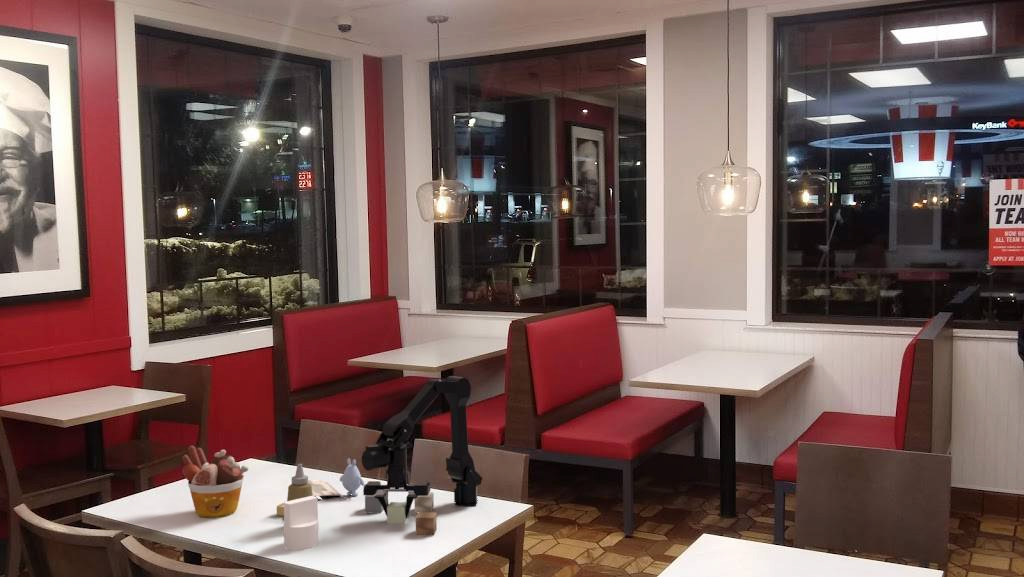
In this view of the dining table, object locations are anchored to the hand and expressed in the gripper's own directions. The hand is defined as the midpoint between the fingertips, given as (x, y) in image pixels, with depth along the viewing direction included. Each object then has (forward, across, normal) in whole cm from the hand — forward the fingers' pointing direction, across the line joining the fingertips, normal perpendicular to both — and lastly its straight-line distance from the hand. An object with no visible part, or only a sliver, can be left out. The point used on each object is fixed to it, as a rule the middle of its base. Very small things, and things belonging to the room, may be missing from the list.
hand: (397, 517), depth 259 cm
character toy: (+2, +33, -4) cm, 33 cm away
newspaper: (+2, +33, -31) cm, 45 cm away
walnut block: (+1, -10, +10) cm, 14 cm away
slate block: (+1, +9, -11) cm, 14 cm away
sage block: (+1, 0, 0) cm, 1 cm away
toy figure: (+1, +20, -27) cm, 34 cm away
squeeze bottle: (+1, +27, +6) cm, 28 cm away
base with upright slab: (+1, +22, +21) cm, 30 cm away
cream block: (+1, -6, -11) cm, 13 cm away
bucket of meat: (+1, +57, -7) cm, 57 cm away
